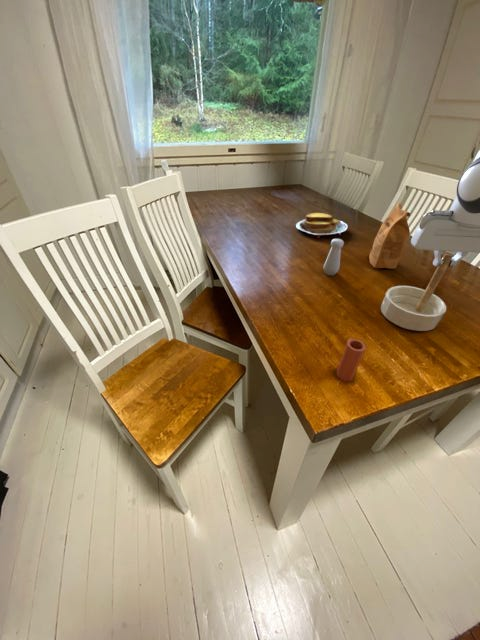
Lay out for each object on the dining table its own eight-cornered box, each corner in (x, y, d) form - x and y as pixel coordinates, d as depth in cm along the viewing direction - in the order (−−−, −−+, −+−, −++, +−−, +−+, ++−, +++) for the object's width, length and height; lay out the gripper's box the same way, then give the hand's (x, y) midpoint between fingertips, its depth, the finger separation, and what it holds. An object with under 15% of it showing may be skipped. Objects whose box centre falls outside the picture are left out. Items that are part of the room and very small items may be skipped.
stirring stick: (423, 309, 81) (453, 254, 70) (422, 313, 80) (453, 256, 68) (415, 307, 82) (445, 252, 71) (414, 310, 81) (444, 254, 69)
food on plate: (325, 244, 124) (328, 230, 120) (285, 228, 139) (286, 215, 135) (356, 231, 137) (359, 217, 133) (316, 218, 152) (318, 206, 148)
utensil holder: (355, 373, 65) (367, 343, 59) (350, 384, 63) (362, 353, 56) (339, 366, 67) (350, 336, 61) (334, 376, 64) (344, 346, 58)
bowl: (439, 312, 85) (448, 296, 81) (433, 340, 75) (443, 323, 71) (386, 296, 91) (392, 280, 88) (374, 319, 81) (380, 303, 78)
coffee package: (391, 257, 114) (412, 202, 100) (397, 272, 105) (422, 213, 91) (366, 255, 116) (383, 201, 102) (370, 269, 106) (390, 211, 92)
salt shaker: (339, 276, 101) (348, 243, 93) (324, 276, 101) (331, 243, 93) (335, 269, 106) (344, 236, 98) (320, 268, 106) (328, 236, 98)
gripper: (431, 214, 61) (407, 269, 70) (528, 218, 60) (490, 273, 69) (419, 205, 66) (398, 258, 75) (508, 209, 65) (476, 262, 73)
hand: (443, 265), depth 72 cm, fingers closed on stirring stick, 2 cm apart
